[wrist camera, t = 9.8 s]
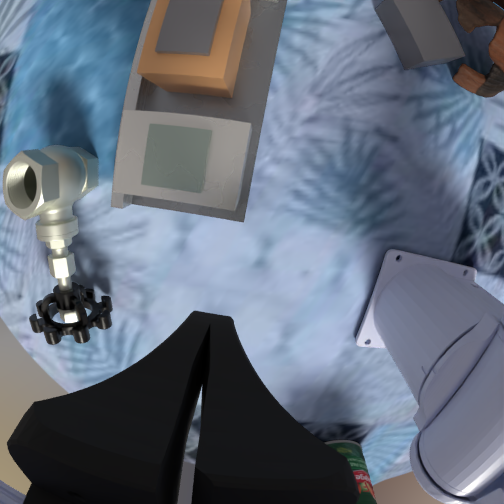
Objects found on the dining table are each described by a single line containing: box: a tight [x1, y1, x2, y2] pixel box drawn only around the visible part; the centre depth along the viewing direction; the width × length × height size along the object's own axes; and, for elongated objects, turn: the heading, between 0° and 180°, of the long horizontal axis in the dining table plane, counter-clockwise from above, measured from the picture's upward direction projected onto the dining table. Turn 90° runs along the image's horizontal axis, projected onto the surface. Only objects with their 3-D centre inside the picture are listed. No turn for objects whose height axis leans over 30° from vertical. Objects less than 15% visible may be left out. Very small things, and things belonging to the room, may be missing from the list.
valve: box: [3, 145, 113, 345], centre depth 17 cm, size 7×7×12 cm
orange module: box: [137, 0, 251, 98], centre depth 12 cm, size 4×6×5 cm, turn 170°
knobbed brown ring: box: [438, 0, 504, 97], centre depth 12 cm, size 12×10×8 cm
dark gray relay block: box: [375, 0, 465, 70], centre depth 14 cm, size 4×5×3 cm
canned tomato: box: [324, 440, 377, 504], centre depth 23 cm, size 8×8×11 cm
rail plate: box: [111, 0, 287, 222], centre depth 13 cm, size 8×20×6 cm, turn 170°
